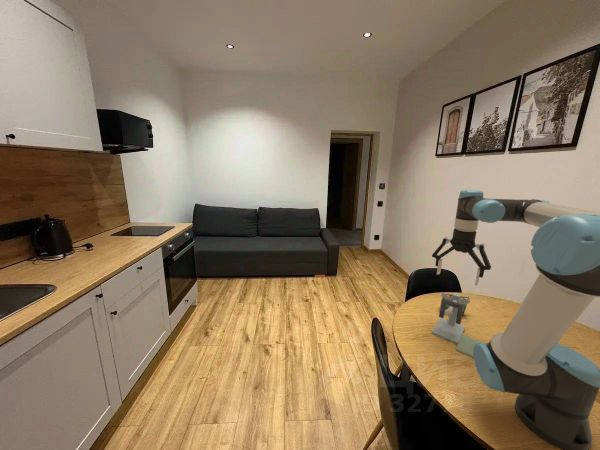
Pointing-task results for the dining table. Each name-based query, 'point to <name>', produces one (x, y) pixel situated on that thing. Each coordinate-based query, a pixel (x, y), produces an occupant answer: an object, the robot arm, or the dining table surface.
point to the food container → (462, 301)
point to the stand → (450, 324)
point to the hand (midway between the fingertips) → (456, 278)
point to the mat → (466, 345)
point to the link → (453, 304)
